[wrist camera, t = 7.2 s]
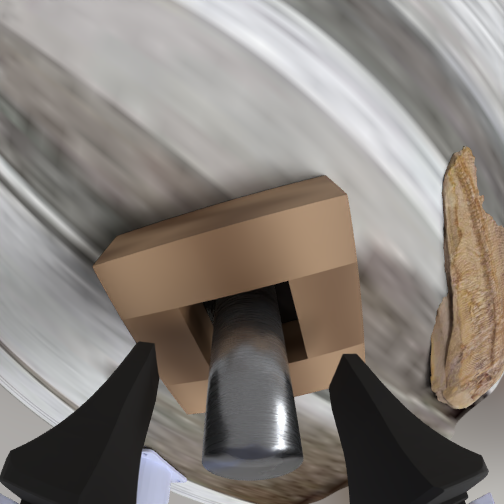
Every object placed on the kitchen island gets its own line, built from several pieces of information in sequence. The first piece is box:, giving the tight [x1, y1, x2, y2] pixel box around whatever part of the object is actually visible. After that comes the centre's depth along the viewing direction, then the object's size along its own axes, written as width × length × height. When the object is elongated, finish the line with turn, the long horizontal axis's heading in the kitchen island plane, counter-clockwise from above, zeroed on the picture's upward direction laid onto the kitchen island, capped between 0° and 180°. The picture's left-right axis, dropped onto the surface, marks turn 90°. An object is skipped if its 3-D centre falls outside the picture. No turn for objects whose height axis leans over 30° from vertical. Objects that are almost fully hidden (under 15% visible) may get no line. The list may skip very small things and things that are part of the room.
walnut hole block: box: [92, 175, 365, 414], centre depth 14 cm, size 10×10×3 cm
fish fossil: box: [430, 146, 504, 409], centre depth 17 cm, size 26×10×1 cm, turn 31°
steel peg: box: [202, 285, 303, 480], centre depth 12 cm, size 3×3×9 cm
